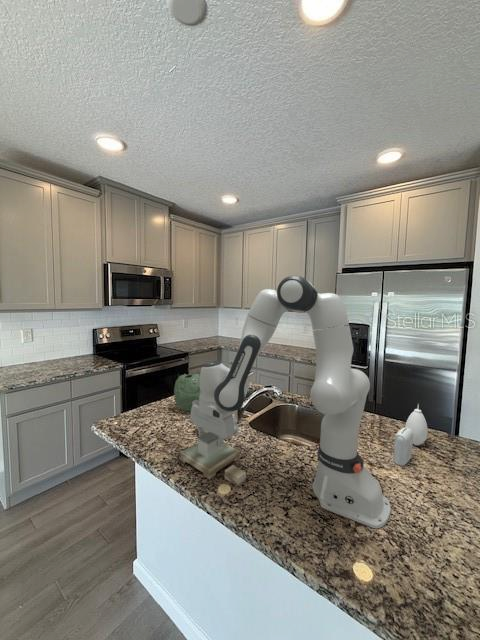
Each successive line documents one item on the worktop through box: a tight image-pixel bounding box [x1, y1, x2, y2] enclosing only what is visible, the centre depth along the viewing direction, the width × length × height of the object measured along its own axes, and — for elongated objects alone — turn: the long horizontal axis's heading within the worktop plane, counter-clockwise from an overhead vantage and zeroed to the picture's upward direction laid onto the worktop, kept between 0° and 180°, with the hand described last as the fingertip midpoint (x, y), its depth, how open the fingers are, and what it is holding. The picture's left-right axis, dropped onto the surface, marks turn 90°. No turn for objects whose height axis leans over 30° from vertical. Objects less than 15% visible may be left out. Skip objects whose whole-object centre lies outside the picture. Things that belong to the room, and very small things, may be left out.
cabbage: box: [173, 373, 200, 412], centre depth 144 cm, size 16×19×20 cm
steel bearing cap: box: [234, 422, 239, 435], centre depth 123 cm, size 5×5×3 cm
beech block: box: [224, 464, 247, 487], centre depth 91 cm, size 6×4×3 cm, turn 50°
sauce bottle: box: [404, 403, 428, 446], centre depth 116 cm, size 8×8×18 cm
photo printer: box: [392, 426, 413, 467], centre depth 104 cm, size 10×4×12 cm, turn 132°
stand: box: [179, 442, 241, 480], centre depth 102 cm, size 16×16×3 cm
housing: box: [197, 432, 223, 458], centre depth 101 cm, size 8×5×6 cm, turn 140°
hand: (210, 441), depth 101 cm, fingers open, 8 cm apart
